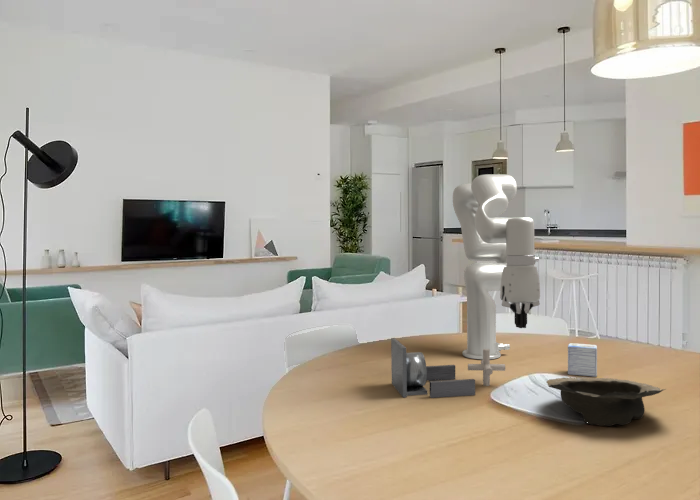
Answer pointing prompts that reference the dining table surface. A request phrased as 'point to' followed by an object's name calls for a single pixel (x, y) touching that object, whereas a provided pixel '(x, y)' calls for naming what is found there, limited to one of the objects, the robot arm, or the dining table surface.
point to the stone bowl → (604, 398)
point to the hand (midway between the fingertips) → (520, 327)
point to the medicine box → (582, 359)
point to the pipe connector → (486, 367)
